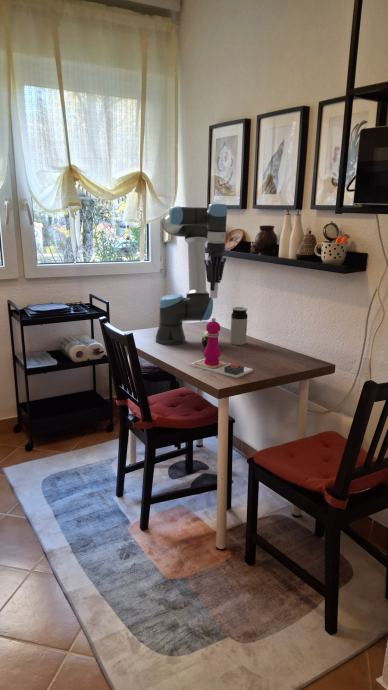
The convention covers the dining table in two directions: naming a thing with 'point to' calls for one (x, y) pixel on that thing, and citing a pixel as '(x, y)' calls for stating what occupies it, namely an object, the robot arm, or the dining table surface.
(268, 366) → the dining table surface
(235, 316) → the travel mug
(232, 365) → the button
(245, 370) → the picture board
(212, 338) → the pepper mill
